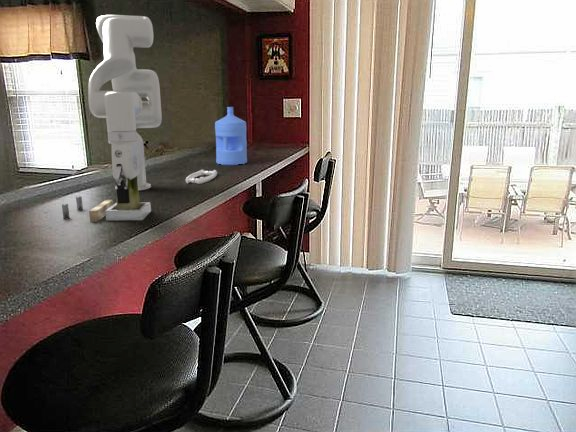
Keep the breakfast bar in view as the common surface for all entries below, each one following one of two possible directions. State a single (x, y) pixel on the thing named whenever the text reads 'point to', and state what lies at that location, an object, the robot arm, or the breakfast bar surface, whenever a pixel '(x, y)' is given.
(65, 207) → the pegs
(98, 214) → the door edge rail
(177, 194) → the breakfast bar surface
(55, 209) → the breakfast bar surface
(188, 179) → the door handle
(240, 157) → the water jug
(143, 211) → the frame
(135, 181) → the fennel bulb
